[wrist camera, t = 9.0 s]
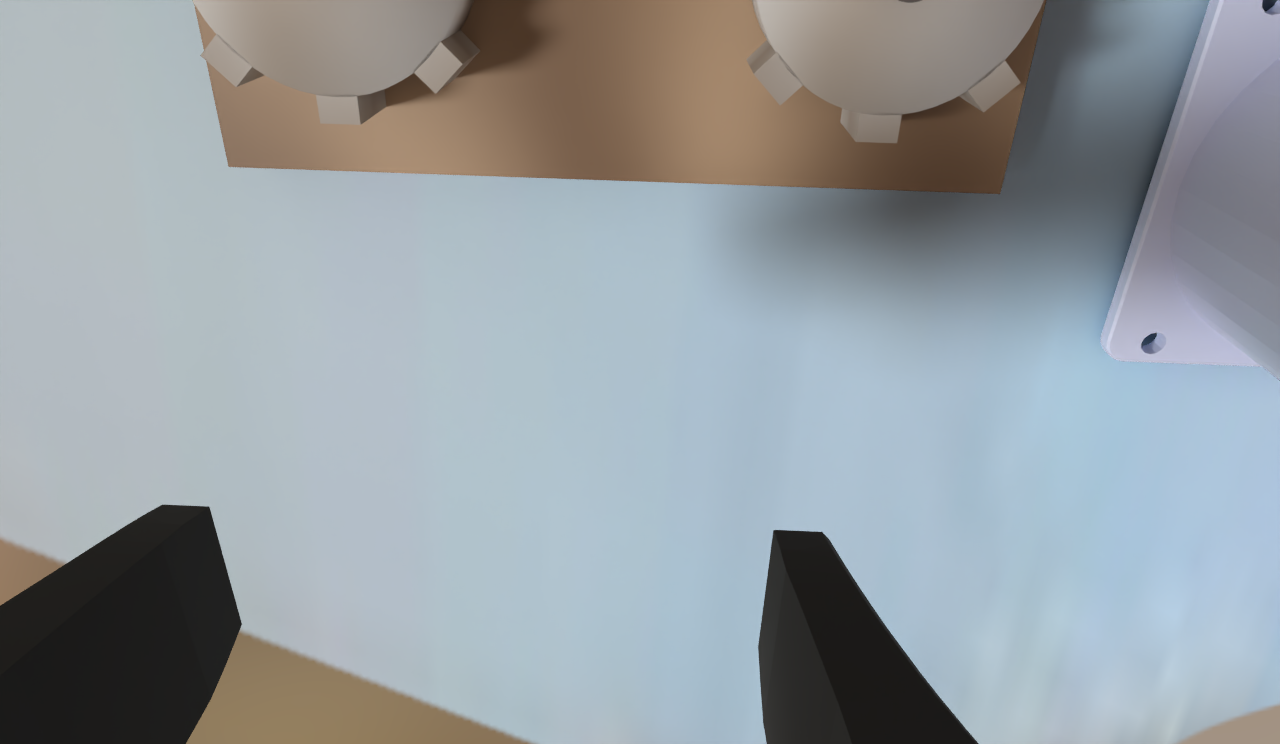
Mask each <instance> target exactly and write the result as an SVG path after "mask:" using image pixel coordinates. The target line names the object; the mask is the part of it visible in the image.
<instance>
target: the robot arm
mask: <svg viewBox="0 0 1280 744" xmlns="http://www.w3.org/2000/svg"><path fill="white" fill-rule="evenodd" d="M1262 1H1263V0H1210V1H1209V4H1208V7H1207V10H1206V14H1205V17H1204V20H1203V23H1202V26H1201V29H1200V32H1199V35H1198V38H1197V41H1196V44H1195V47H1194V50H1193V54H1192V57H1191V60H1190V63H1189V66H1188V69H1187V72H1186V75H1185V78H1184V81H1183V84H1182V87H1181V90H1180V94H1179V97H1178V100H1177V103H1176V106H1175V109H1174V112H1173V115H1172V118H1171V121H1170V124H1169V127H1168V130H1167V134H1166V137H1165V140H1164V143H1163V146H1162V149H1161V152H1160V155H1159V158H1158V161H1157V164H1156V167H1155V170H1154V174H1153V177H1152V180H1151V183H1150V186H1149V189H1148V192H1147V195H1146V198H1145V201H1144V204H1143V207H1142V210H1141V214H1140V217H1139V220H1138V223H1137V226H1136V229H1135V232H1134V235H1133V238H1132V241H1131V244H1130V247H1129V251H1128V254H1127V257H1126V260H1125V263H1124V266H1123V269H1122V272H1121V275H1120V278H1119V281H1118V284H1117V287H1116V291H1115V294H1114V297H1113V300H1112V303H1111V306H1110V309H1109V312H1108V315H1107V318H1106V321H1105V324H1104V327H1103V331H1102V334H1101V341H1100V343H1101V345H1102V347H1103V349H1104V350H1105V351H1106V352H1107V353H1108V354H1109V355H1110V356H1111V357H1112V358H1114V359H1115V360H1119V361H1127V362H1153V363H1179V364H1205V365H1232V366H1258V367H1263V368H1264V369H1265V370H1267V371H1268V372H1269V373H1270V374H1272V375H1273V376H1274V377H1276V378H1277V379H1278V380H1279V381H1280V0H1277V2H1276V3H1275V5H1274V6H1273V7H1271V8H1270V9H1269V10H1268V11H1265V12H1264V10H1263V8H1262ZM1152 333H1157V336H1156V338H1155V339H1154V341H1153V342H1151V343H1150V344H1148V345H1144V346H1141V343H1142V341H1143V340H1144V338H1145V337H1147V336H1148V335H1150V334H1152ZM241 625H242V623H241V620H240V616H239V612H238V609H237V605H236V602H235V598H234V594H233V591H232V587H231V583H230V580H229V576H228V573H227V569H226V565H225V562H224V558H223V555H222V551H221V547H220V544H219V540H218V537H217V533H216V529H215V526H214V522H213V519H212V515H211V511H210V508H209V507H204V506H180V505H161V506H159V507H157V508H156V509H154V510H152V511H150V512H149V513H147V514H145V515H143V516H142V517H140V518H138V519H137V520H135V521H133V522H132V523H130V524H128V525H127V526H125V527H123V528H122V529H120V530H119V531H117V532H115V533H114V534H112V535H111V536H109V537H107V538H106V539H104V540H103V541H101V542H100V543H98V544H96V545H95V546H93V547H92V548H90V549H89V550H87V551H86V552H84V553H82V554H81V555H79V556H78V557H76V558H75V559H73V560H72V561H70V562H68V563H67V564H65V565H64V566H62V567H61V568H59V569H57V570H56V571H54V572H53V573H51V574H50V575H48V576H46V577H45V578H43V579H42V580H40V581H39V582H37V583H35V584H34V585H32V586H31V587H29V588H28V589H26V590H24V591H23V592H21V593H20V594H18V595H16V596H15V597H13V598H12V599H10V600H9V601H7V602H5V603H4V604H2V605H1V606H0V744H186V742H187V740H188V739H189V737H190V735H191V733H192V732H193V730H194V728H195V726H196V725H197V723H198V721H199V719H200V718H201V716H202V714H203V712H204V710H205V708H206V707H207V705H208V703H209V701H210V700H211V697H212V695H213V693H214V691H215V688H216V686H217V684H218V681H219V679H220V677H221V675H222V672H223V670H224V667H225V665H226V663H227V660H228V658H229V655H230V653H231V650H232V648H233V645H234V643H235V640H236V637H237V635H238V633H239V630H240V628H241ZM758 650H759V666H760V682H761V696H762V710H763V723H764V729H765V735H766V741H767V744H978V743H977V741H976V740H975V739H974V738H973V737H972V736H971V734H970V733H969V732H968V731H967V730H966V729H965V727H964V726H963V725H962V724H961V723H960V721H959V720H958V719H957V718H956V717H955V715H954V714H953V713H952V712H951V711H950V709H949V708H948V707H947V706H946V704H945V703H944V702H943V701H942V700H941V698H940V697H939V696H938V695H937V693H936V692H935V691H934V690H933V688H932V687H931V686H930V685H929V683H928V682H927V681H926V679H925V678H924V677H923V676H922V674H921V673H920V672H919V670H918V669H917V668H916V666H915V665H914V664H913V662H912V661H911V660H910V658H909V657H908V656H907V654H906V653H905V652H904V650H903V649H902V648H901V646H900V645H899V644H898V642H897V641H896V639H895V638H894V637H893V635H892V634H891V633H890V631H889V630H888V629H887V627H886V626H885V624H884V623H883V622H882V620H881V619H880V617H879V616H878V614H877V613H876V612H875V610H874V609H873V607H872V606H871V604H870V603H869V601H868V600H867V598H866V597H865V595H864V594H863V592H862V591H861V589H860V588H859V586H858V585H857V583H856V582H855V580H854V579H853V577H852V576H851V574H850V572H849V571H848V569H847V568H846V566H845V565H844V563H843V561H842V560H841V558H840V556H839V555H838V553H837V552H836V550H835V548H834V547H833V545H832V543H831V542H830V540H829V539H828V538H827V537H826V536H825V535H824V534H823V532H809V531H785V530H774V531H773V539H772V546H771V554H770V562H769V569H768V577H767V584H766V592H765V600H764V607H763V615H762V622H761V630H760V638H759V645H758Z"/></svg>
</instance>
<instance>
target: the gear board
mask: <svg viewBox="0 0 1280 744" xmlns="http://www.w3.org/2000/svg"><path fill="white" fill-rule="evenodd" d="M192 1H193V3H194V5H195V10H196V14H197V19H198V24H199V29H200V33H201V38H202V43H203V48H204V51H203V53H202V54H201V56H202V57H203V58H204V59H205V60H206V62H207V66H208V71H209V76H210V81H211V85H212V90H213V95H214V100H215V104H216V109H217V114H218V119H219V123H220V128H221V133H222V137H223V142H224V147H225V152H226V156H227V161H228V166H229V167H248V168H276V169H305V170H333V171H362V172H390V173H419V174H447V175H475V176H504V177H532V178H561V179H589V180H618V181H646V182H674V183H703V184H731V185H760V186H788V187H817V188H845V189H873V190H902V191H930V192H959V193H987V194H1000V192H1001V188H1002V184H1003V180H1004V176H1005V171H1006V167H1007V163H1008V159H1009V155H1010V151H1011V146H1012V142H1013V138H1014V134H1015V130H1016V125H1017V121H1018V117H1019V113H1020V109H1021V104H1022V100H1023V96H1024V92H1025V88H1026V83H1027V79H1028V75H1029V71H1030V67H1031V63H1032V58H1033V54H1034V50H1035V46H1036V42H1037V37H1038V33H1039V29H1040V25H1041V21H1042V16H1043V12H1044V8H1045V4H1046V0H192Z"/></svg>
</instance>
